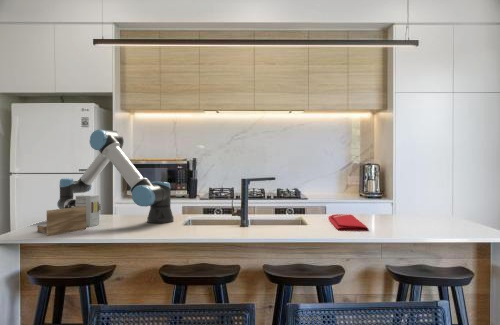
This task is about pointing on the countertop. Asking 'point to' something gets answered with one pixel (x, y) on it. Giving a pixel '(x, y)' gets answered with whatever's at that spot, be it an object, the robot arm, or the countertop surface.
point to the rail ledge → (64, 220)
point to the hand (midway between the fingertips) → (89, 208)
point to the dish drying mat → (346, 223)
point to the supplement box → (89, 208)
